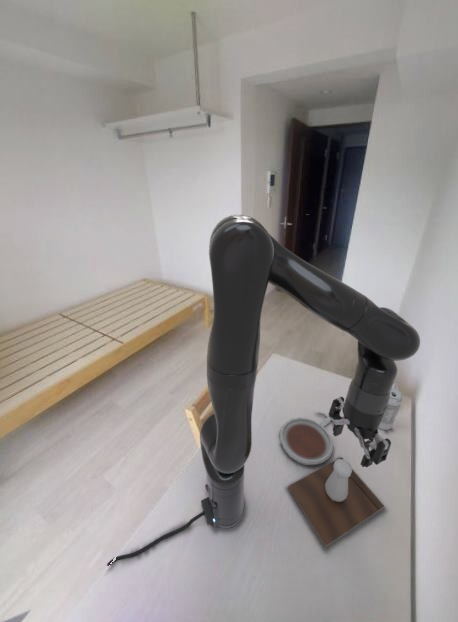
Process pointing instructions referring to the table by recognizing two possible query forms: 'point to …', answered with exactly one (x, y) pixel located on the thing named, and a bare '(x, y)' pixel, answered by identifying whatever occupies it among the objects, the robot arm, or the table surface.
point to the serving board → (334, 504)
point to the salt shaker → (338, 481)
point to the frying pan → (307, 440)
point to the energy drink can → (391, 410)
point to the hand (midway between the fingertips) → (350, 448)
